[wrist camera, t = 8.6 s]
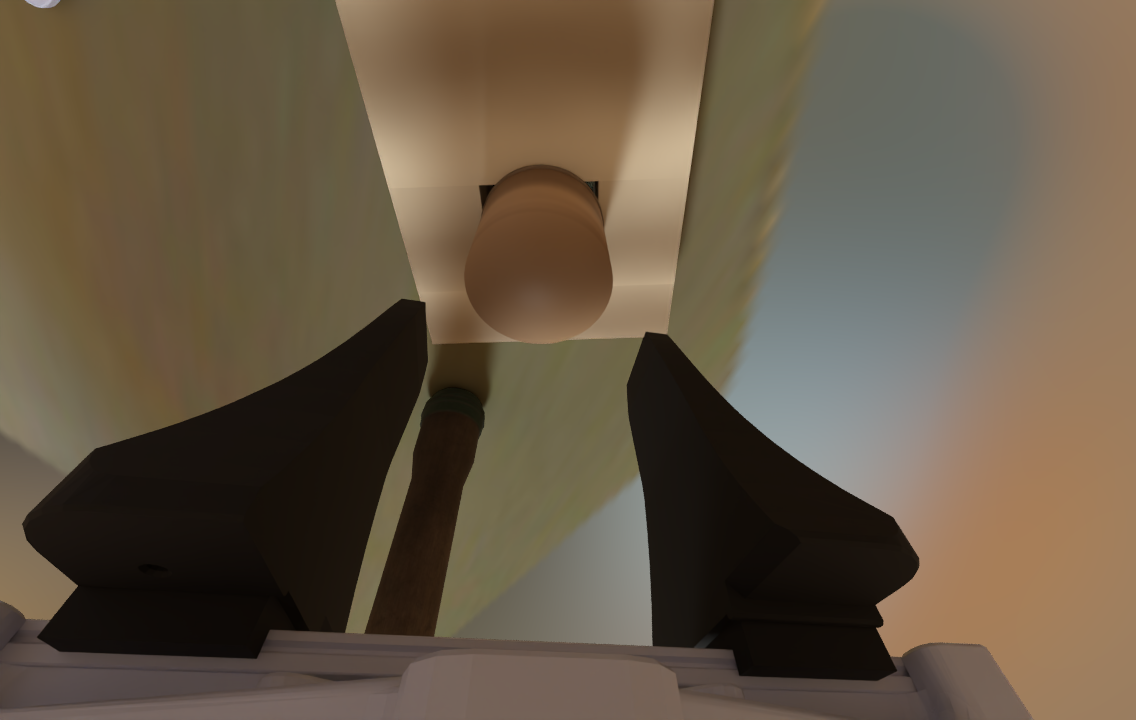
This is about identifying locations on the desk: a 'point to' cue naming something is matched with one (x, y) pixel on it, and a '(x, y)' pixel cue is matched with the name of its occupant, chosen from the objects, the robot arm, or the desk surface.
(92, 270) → the desk surface
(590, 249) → the peg
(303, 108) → the desk surface
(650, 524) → the robot arm
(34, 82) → the desk surface
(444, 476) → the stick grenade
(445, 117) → the board
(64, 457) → the desk surface
